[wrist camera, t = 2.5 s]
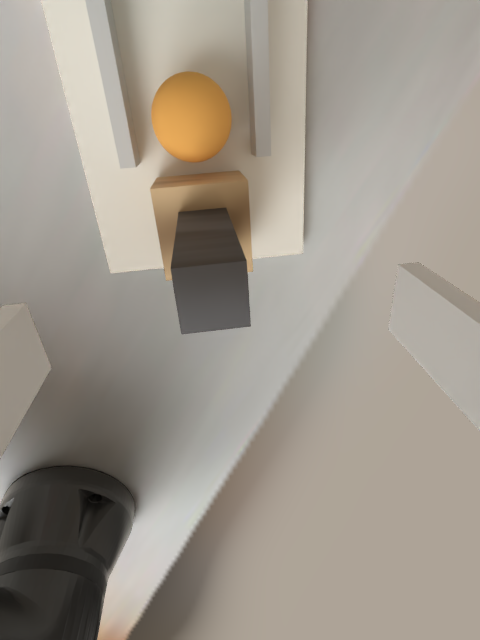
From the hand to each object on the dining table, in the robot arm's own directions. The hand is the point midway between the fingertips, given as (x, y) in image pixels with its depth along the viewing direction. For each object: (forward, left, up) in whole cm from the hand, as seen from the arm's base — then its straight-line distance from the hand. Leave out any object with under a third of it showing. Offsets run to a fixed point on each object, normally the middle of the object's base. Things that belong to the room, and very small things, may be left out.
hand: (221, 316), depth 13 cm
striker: (0, 0, -17) cm, 17 cm away
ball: (+6, 0, -15) cm, 16 cm away
